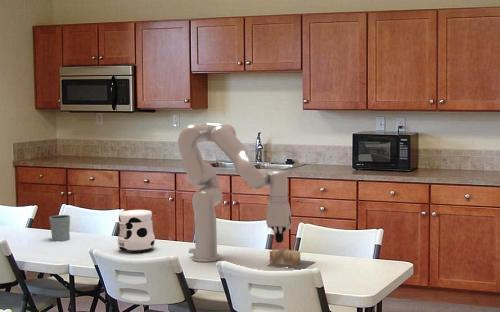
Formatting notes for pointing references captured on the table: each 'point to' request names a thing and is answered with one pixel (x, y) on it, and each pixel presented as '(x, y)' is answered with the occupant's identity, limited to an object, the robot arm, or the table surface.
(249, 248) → the table surface
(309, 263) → the charcoal mat
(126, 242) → the milk container
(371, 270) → the table surface
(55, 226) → the grey cup
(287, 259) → the maple block
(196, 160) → the robot arm
